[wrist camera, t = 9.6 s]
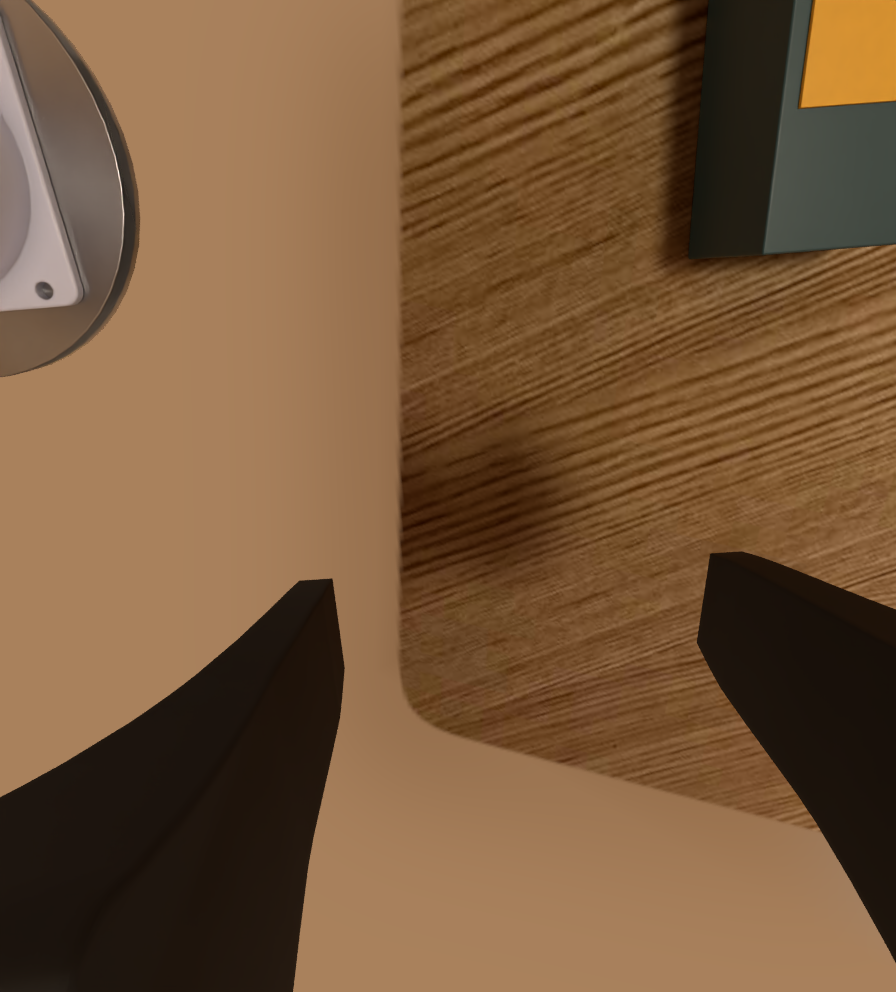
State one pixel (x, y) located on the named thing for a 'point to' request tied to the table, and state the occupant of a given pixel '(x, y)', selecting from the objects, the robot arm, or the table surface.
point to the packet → (796, 128)
